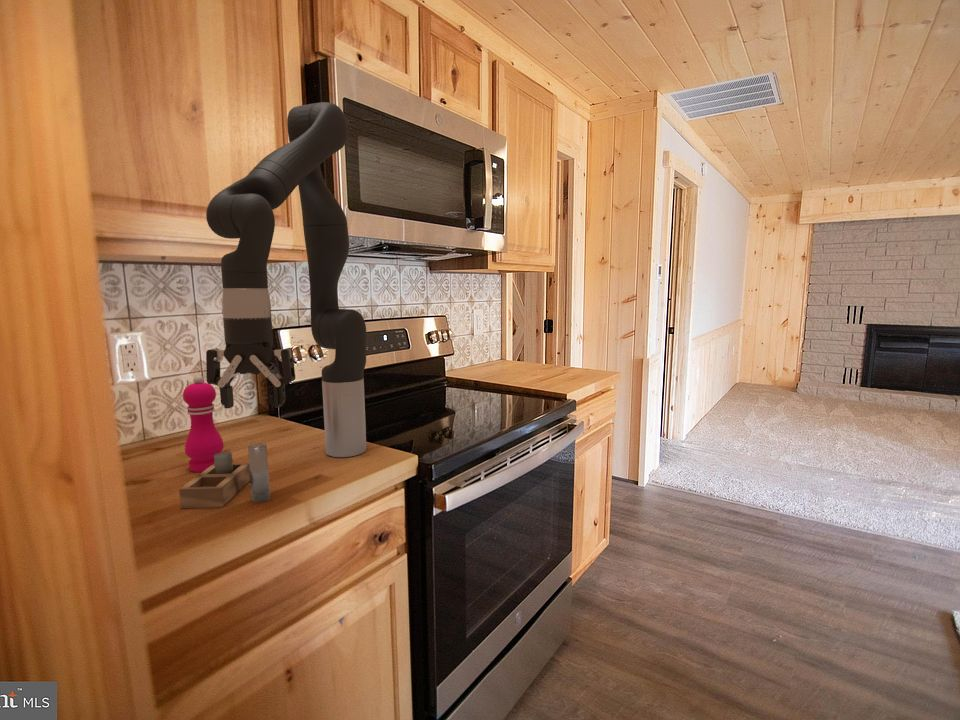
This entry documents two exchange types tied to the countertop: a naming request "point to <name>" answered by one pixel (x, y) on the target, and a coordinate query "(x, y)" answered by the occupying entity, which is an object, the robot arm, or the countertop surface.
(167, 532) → the countertop surface
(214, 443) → the pepper mill
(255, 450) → the pin
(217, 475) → the wooden divided tray
